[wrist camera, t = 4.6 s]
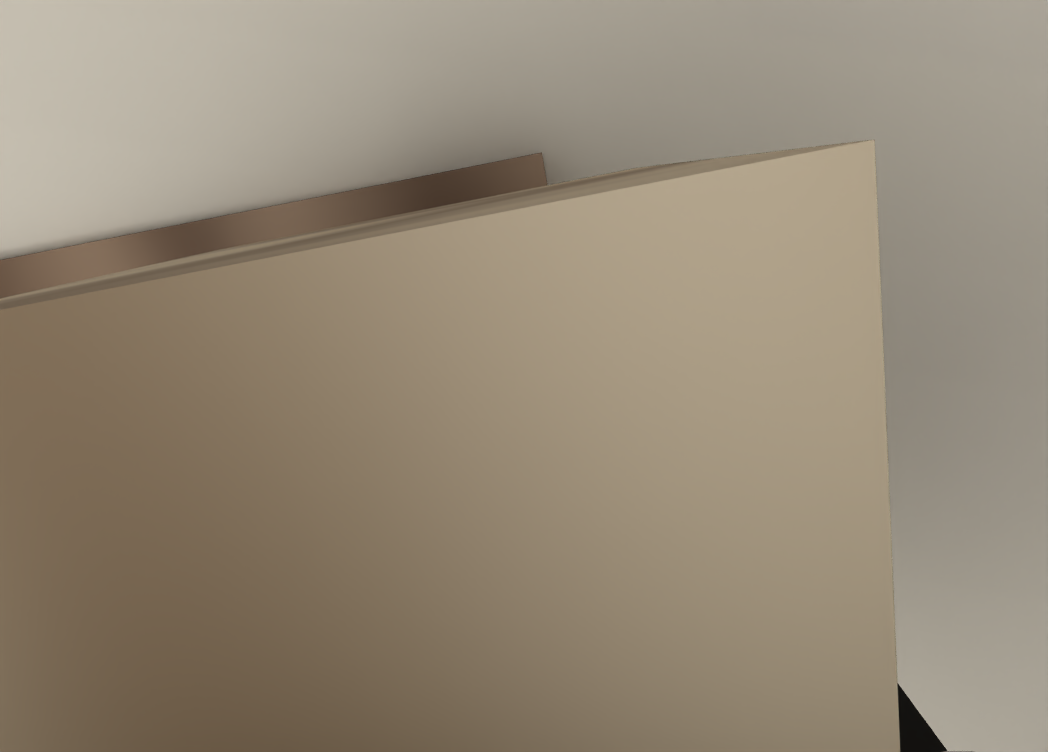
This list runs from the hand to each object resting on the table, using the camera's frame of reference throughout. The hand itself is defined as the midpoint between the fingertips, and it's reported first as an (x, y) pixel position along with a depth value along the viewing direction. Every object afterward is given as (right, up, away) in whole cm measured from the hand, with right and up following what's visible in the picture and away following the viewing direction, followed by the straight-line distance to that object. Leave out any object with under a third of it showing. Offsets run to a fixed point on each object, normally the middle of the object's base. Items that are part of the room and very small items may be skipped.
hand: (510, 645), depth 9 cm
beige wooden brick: (0, 0, +1) cm, 1 cm away
